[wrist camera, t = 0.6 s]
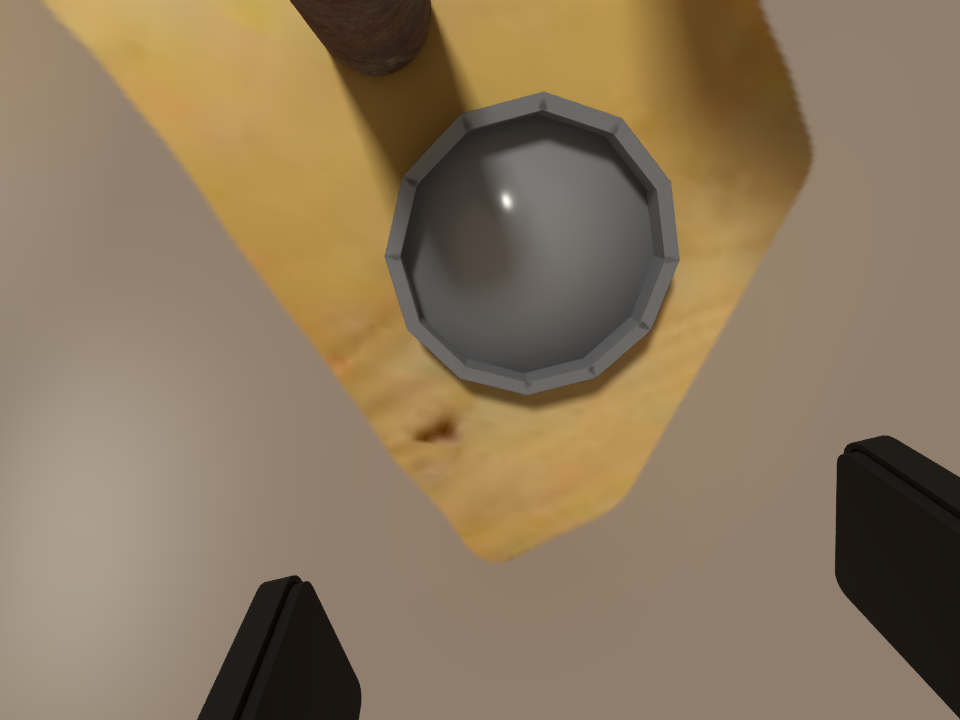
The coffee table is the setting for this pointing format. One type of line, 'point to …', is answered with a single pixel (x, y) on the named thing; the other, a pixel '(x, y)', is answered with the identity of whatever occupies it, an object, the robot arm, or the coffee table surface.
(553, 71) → the coffee table surface
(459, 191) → the round tray
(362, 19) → the mottled brown cylinder
